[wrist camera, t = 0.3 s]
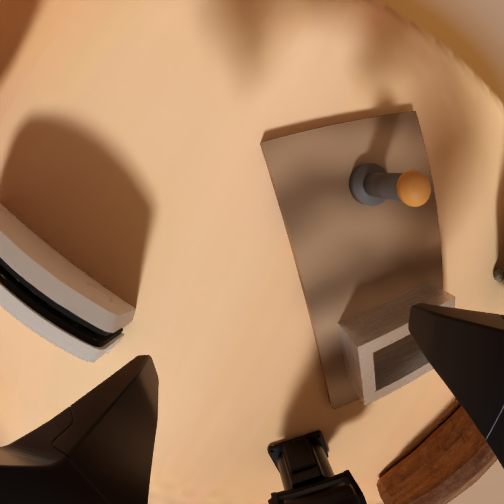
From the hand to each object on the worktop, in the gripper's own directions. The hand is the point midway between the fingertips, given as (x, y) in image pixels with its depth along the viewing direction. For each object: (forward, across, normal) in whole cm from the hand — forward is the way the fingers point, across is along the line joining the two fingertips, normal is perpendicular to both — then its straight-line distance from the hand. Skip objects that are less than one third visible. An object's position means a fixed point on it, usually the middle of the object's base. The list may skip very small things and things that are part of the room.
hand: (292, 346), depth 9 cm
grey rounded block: (+14, +16, -1) cm, 21 cm away
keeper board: (+14, -11, +4) cm, 18 cm away
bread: (+15, -29, +38) cm, 50 cm away
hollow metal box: (+13, -12, +10) cm, 20 cm away
